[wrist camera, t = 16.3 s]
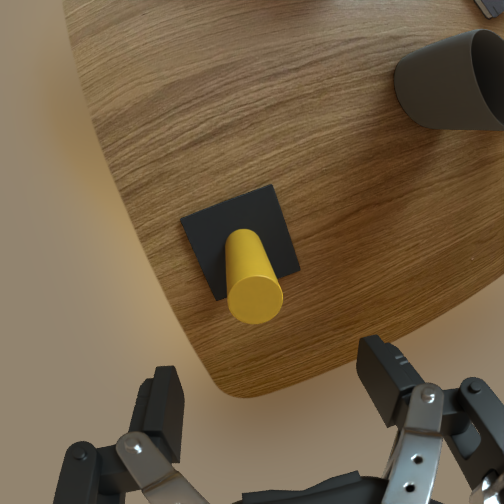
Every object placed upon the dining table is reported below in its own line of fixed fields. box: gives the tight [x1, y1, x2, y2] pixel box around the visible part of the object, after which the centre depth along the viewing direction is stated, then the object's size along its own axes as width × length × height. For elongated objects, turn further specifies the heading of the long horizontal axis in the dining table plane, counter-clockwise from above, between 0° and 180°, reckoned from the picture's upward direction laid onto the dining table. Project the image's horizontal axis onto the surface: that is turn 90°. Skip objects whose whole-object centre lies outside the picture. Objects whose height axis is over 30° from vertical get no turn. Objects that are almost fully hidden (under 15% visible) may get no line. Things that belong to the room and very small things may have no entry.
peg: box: [225, 229, 283, 324], centre depth 23 cm, size 3×3×11 cm
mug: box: [394, 29, 504, 131], centre depth 19 cm, size 14×9×12 cm
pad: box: [180, 184, 300, 301], centre depth 29 cm, size 9×9×1 cm
